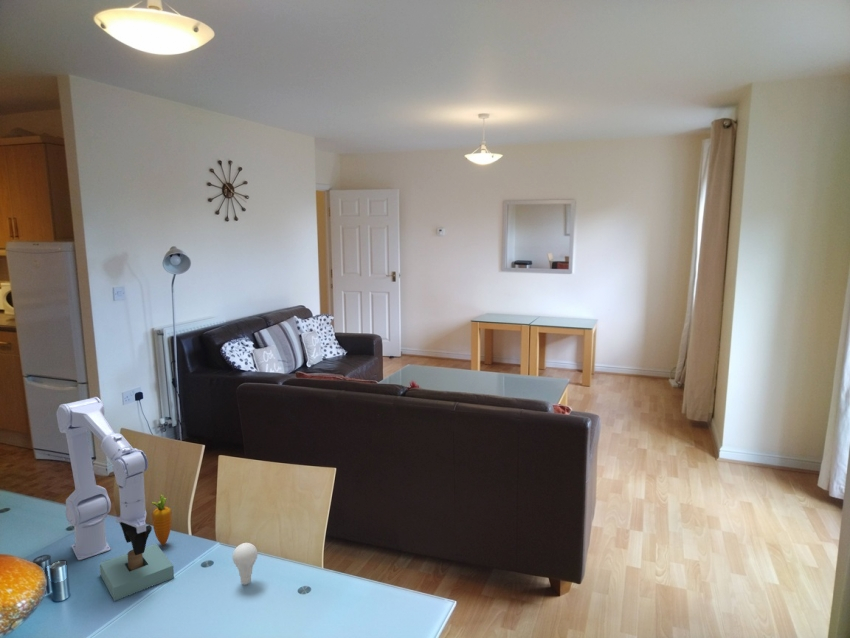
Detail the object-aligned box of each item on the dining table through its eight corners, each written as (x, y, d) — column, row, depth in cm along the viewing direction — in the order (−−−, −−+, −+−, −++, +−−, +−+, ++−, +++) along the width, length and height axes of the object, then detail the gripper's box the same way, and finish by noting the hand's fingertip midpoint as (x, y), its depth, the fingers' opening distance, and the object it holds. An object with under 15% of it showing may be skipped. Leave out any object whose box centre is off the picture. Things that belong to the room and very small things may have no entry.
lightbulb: (263, 580, 141) (262, 541, 140) (246, 594, 136) (245, 553, 134) (245, 574, 144) (244, 535, 142) (228, 587, 138) (226, 547, 137)
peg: (127, 576, 142) (126, 551, 141) (142, 571, 144) (140, 547, 143) (130, 582, 140) (129, 557, 139) (145, 577, 142) (143, 552, 141)
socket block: (100, 575, 142) (99, 562, 142) (156, 555, 152) (156, 543, 151) (114, 601, 132) (113, 587, 132) (173, 577, 142) (173, 565, 141)
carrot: (165, 551, 154) (162, 501, 152) (150, 548, 155) (147, 499, 153) (176, 541, 159) (174, 493, 157) (161, 539, 160) (159, 492, 158)
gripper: (107, 493, 142) (110, 541, 144) (122, 514, 131) (126, 565, 133) (136, 485, 146) (139, 531, 148) (153, 504, 136) (156, 554, 138)
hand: (135, 547), depth 141 cm, fingers open, 7 cm apart
